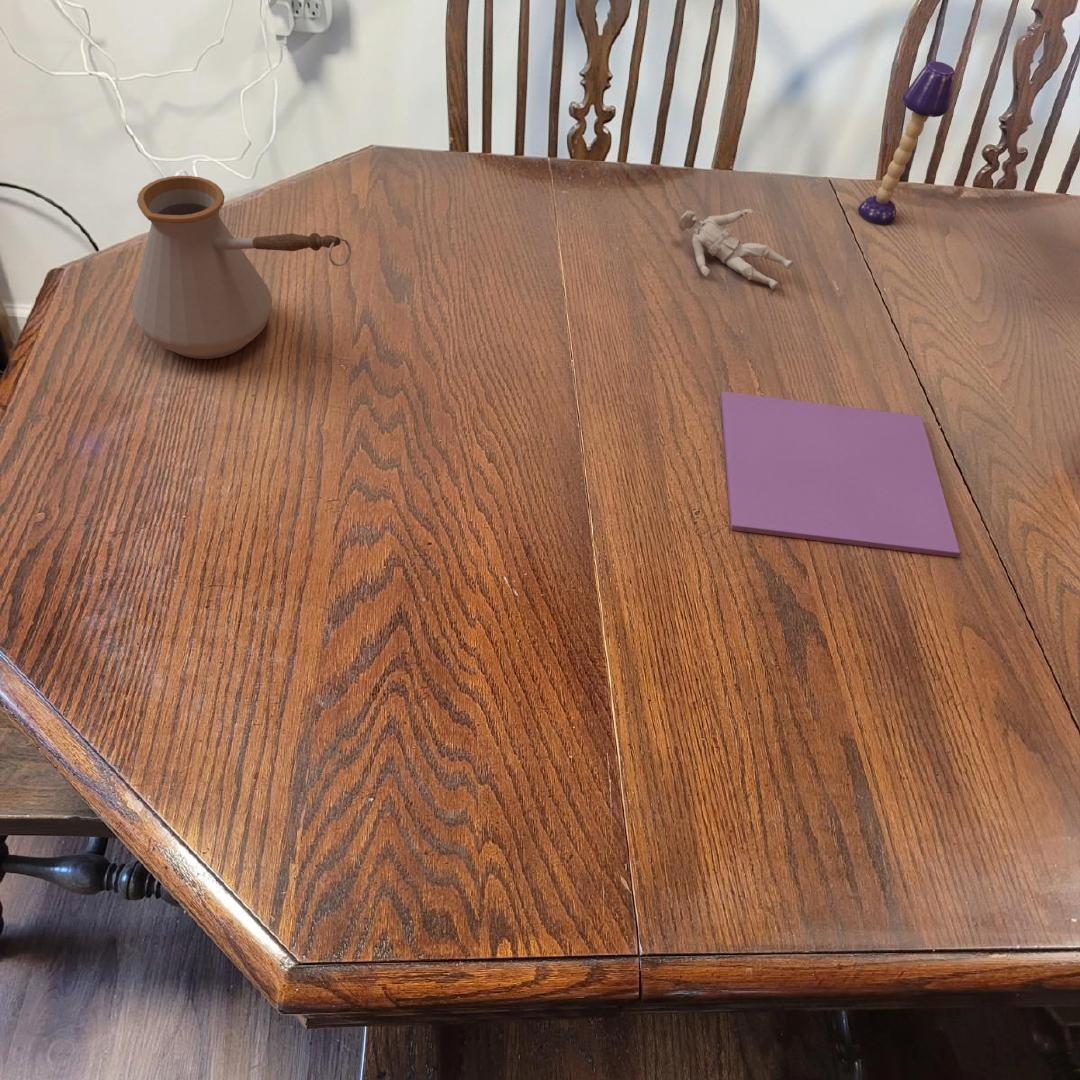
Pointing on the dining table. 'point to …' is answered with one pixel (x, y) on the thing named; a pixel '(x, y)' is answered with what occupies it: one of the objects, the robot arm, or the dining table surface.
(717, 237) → the soldier figure
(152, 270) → the coffee pot
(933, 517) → the mat
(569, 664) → the dining table surface
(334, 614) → the dining table surface
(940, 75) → the toy lamp
